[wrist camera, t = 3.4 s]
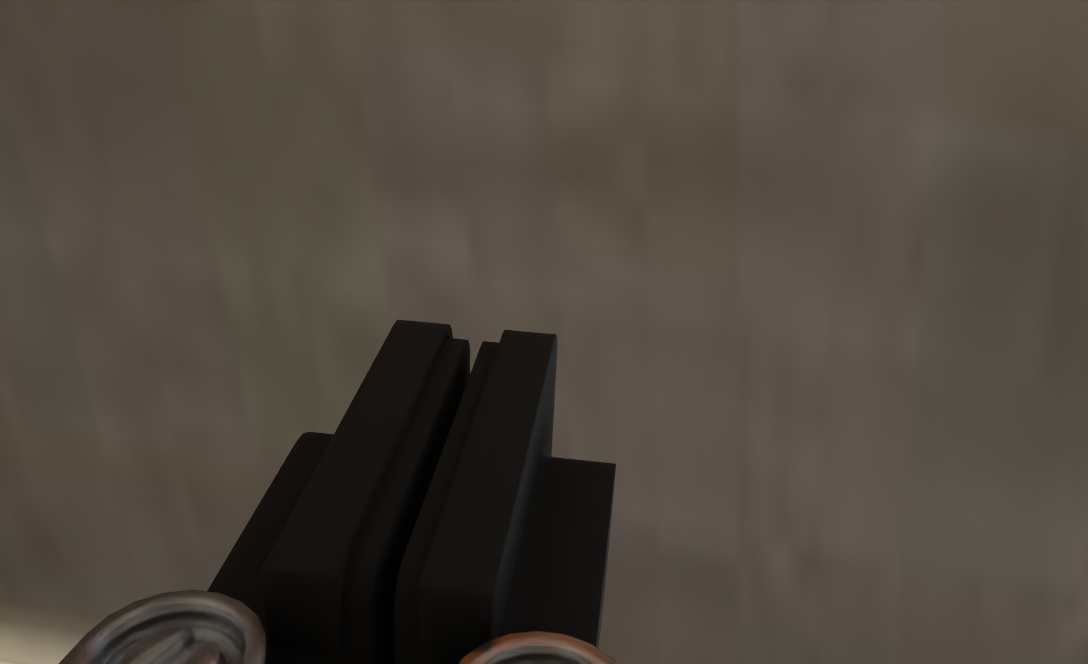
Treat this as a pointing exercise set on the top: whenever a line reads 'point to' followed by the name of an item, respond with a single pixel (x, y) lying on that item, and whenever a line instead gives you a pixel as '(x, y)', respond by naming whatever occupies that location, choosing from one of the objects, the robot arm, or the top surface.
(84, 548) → the top surface
